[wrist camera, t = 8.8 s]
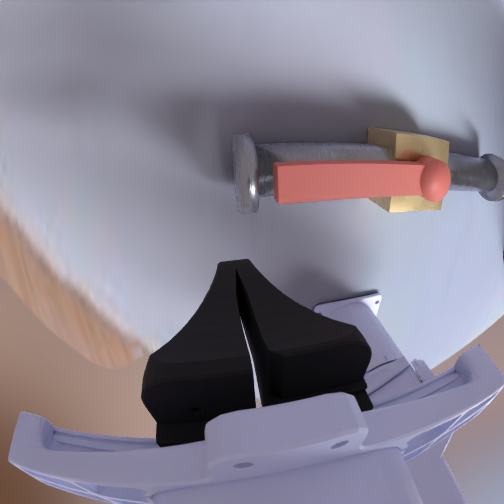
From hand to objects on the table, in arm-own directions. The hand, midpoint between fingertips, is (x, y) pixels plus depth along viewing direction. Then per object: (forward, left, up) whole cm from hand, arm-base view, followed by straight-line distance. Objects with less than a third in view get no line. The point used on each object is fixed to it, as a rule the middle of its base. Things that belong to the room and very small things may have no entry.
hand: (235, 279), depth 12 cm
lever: (+3, -10, -6) cm, 12 cm away
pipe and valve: (+3, -15, -10) cm, 18 cm away
